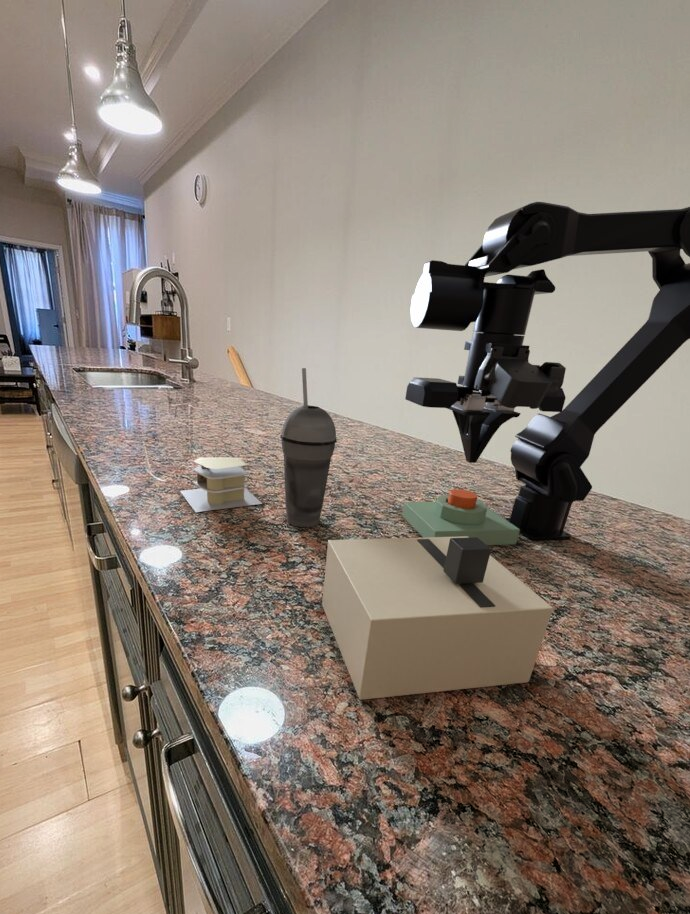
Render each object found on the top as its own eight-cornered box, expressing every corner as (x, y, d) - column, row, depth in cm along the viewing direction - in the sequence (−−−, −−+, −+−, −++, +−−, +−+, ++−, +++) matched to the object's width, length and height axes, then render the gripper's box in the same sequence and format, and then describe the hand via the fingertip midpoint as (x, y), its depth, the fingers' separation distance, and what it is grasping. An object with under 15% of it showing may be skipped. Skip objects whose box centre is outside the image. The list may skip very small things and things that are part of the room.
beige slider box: (451, 594, 46) (465, 532, 44) (529, 682, 35) (554, 606, 32) (320, 601, 43) (326, 536, 41) (359, 700, 32) (371, 618, 29)
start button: (466, 500, 63) (468, 488, 62) (480, 510, 60) (483, 498, 59) (442, 500, 62) (445, 489, 61) (455, 510, 59) (458, 498, 58)
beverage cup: (324, 535, 58) (339, 373, 50) (270, 527, 59) (276, 368, 51) (332, 514, 64) (346, 369, 56) (283, 507, 65) (291, 364, 58)
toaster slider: (469, 570, 36) (477, 536, 35) (483, 583, 34) (492, 548, 33) (442, 571, 36) (449, 537, 35) (454, 584, 34) (462, 549, 33)
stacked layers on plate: (241, 484, 73) (241, 452, 71) (262, 504, 66) (263, 468, 64) (179, 491, 69) (178, 456, 66) (195, 512, 61) (194, 474, 59)
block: (475, 514, 68) (481, 489, 66) (516, 544, 59) (523, 516, 57) (401, 515, 65) (405, 490, 64) (432, 547, 56) (438, 518, 55)
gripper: (461, 330, 43) (432, 482, 49) (621, 342, 47) (577, 482, 53) (413, 328, 53) (395, 454, 59) (549, 338, 57) (518, 456, 63)
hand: (470, 462), depth 58 cm, fingers closed
